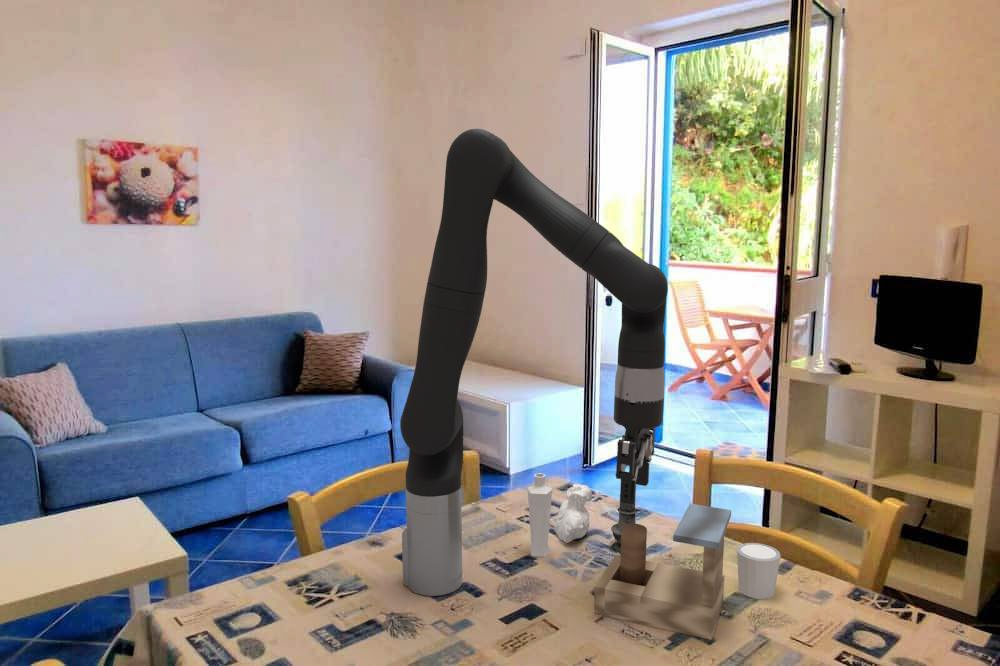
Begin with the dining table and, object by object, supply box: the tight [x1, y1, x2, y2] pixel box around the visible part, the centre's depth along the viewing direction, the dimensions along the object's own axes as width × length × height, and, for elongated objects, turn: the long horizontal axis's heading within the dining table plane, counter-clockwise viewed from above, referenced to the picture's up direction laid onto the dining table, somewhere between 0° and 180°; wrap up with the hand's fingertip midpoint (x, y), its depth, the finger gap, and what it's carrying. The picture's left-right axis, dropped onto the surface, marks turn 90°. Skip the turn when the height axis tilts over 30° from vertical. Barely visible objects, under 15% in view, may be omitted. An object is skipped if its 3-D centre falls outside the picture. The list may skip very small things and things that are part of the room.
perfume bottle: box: [527, 472, 553, 558], centre depth 135 cm, size 5×4×15 cm
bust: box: [553, 483, 593, 544], centre depth 143 cm, size 12×8×11 cm
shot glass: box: [736, 542, 781, 600], centre depth 122 cm, size 7×7×7 cm
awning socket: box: [593, 503, 732, 641], centre depth 116 cm, size 18×13×16 cm
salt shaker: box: [610, 496, 638, 553], centre depth 138 cm, size 6×6×12 cm
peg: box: [620, 523, 648, 586], centre depth 118 cm, size 4×4×12 cm
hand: (634, 493), depth 116 cm, fingers open, 8 cm apart
